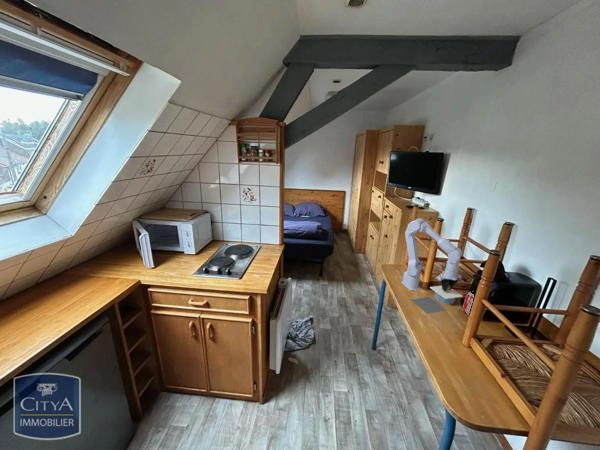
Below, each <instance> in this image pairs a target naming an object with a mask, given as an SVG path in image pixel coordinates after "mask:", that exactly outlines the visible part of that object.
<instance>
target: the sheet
mask: <svg viewBox="0 0 600 450" xmlns="http://www.w3.org/2000/svg"><path fill="white" fill-rule="evenodd" d="M450 287H451V286H450V285H448V287H447V290H446V291H444V290H442V285H438V286H437V285H435V286H434V285H433V286H430V287H429V288H430V289H431V290H432V291H434V293H435V292H436V293H438V294H439V295H441V296H442V297H443V298H445V299H452V298H455V299H458V298H464V296H463V295H462V294H461V293H459V292H458V291H456V290H455V289H453V288H452V289H451V290H450Z"/></svg>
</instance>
